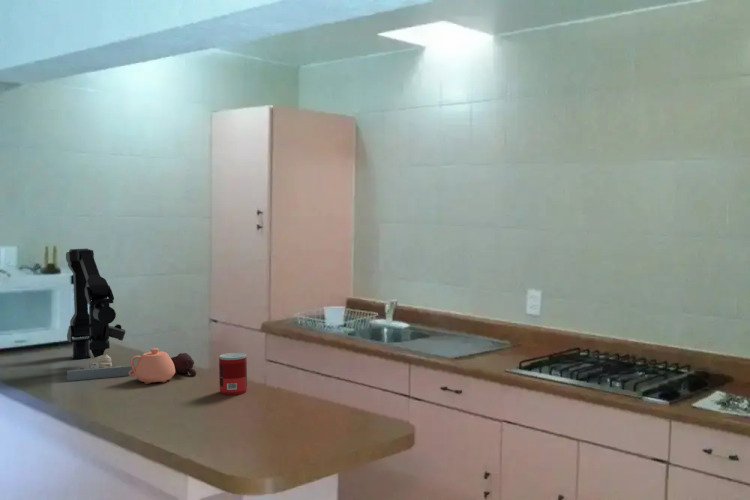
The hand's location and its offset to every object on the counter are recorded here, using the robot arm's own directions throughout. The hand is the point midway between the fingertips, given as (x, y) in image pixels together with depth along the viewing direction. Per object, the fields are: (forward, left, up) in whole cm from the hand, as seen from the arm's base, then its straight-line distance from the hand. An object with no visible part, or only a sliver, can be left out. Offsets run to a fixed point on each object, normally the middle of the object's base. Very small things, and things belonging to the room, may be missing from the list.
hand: (99, 365), depth 248 cm
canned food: (+49, +36, -1) cm, 61 cm away
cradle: (+11, 0, -1) cm, 11 cm away
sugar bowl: (+25, +15, -2) cm, 29 cm away
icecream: (+18, +25, -2) cm, 31 cm away
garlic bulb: (+9, 0, -1) cm, 9 cm away
